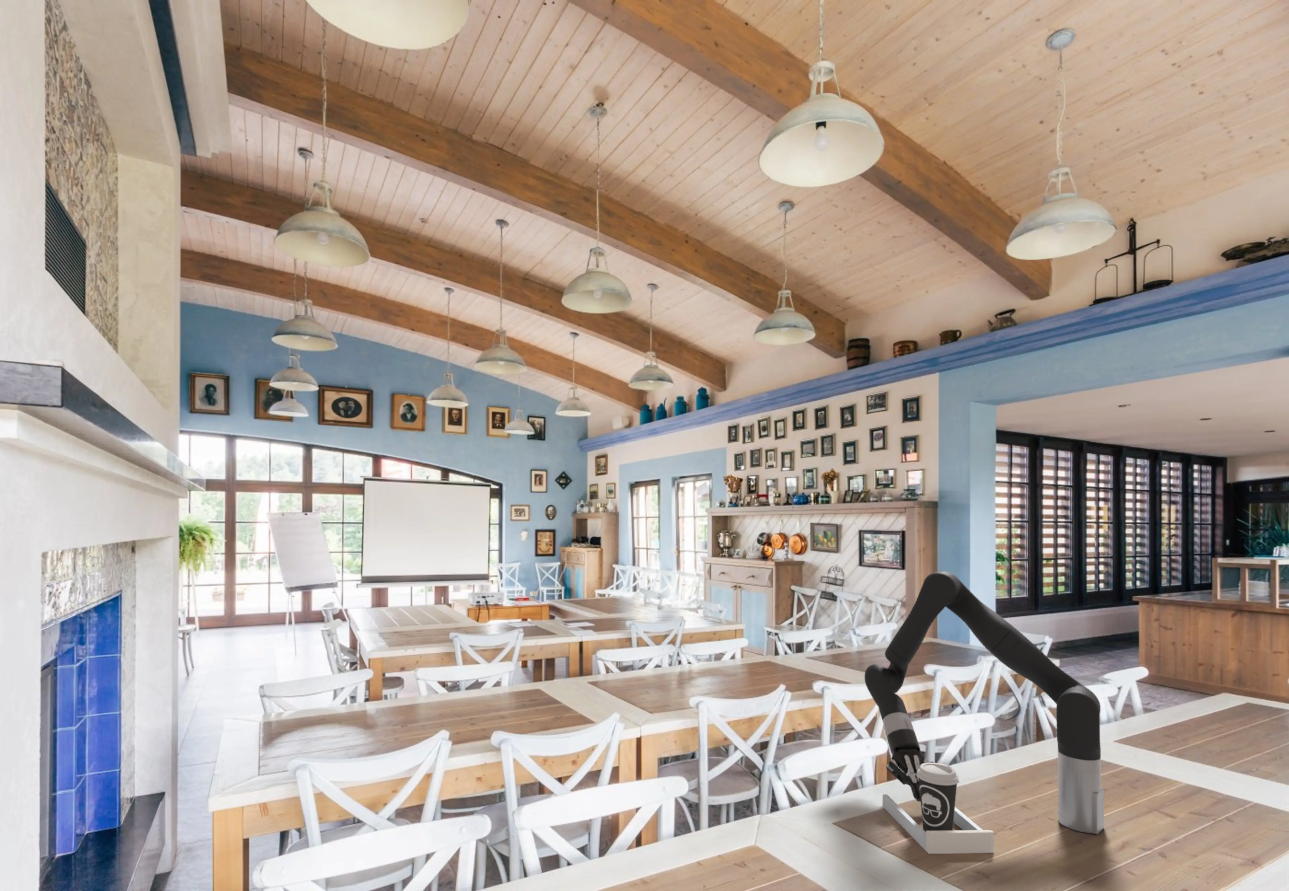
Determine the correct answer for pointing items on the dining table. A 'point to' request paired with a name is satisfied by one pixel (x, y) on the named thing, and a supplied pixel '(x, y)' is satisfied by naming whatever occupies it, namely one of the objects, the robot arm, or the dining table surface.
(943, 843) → the white rectangular tray frame
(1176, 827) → the dining table surface
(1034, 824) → the dining table surface
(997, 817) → the dining table surface
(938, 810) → the coffee cup
